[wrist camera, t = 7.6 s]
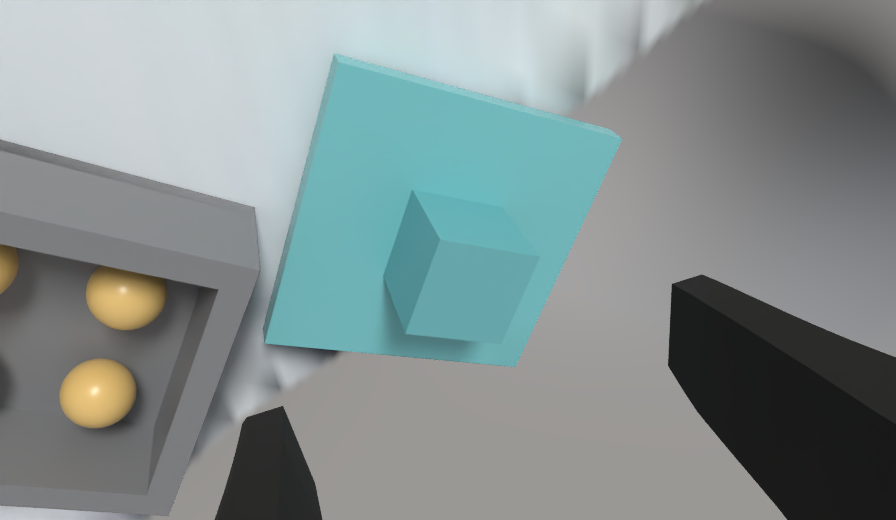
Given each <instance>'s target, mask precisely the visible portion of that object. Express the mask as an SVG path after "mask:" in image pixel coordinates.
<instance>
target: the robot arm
mask: <svg viewBox="0 0 896 520" xmlns="http://www.w3.org/2000/svg"><path fill="white" fill-rule="evenodd" d="M670 316H671V317H670V337H669V359H668V366H669V368H670V370H671V371H672V373H673V374H674V376H675V378H676V379H677V381H678V383H679V384H680V386H681V387H682V389H683V391H684V392H685V394H686V395H687V397H688V398H689V400H690V401H691V403H692V404H693V406H694V407H695V409H696V410H697V412H698V413H699V414H700V415H701V417H702V418H703V419H704V420H705V422H706V423H707V424H708V425H709V426H710V428H711V429H712V430H713V431H714V432H715V434H716V435H717V436H718V437H719V438H720V440H721V441H722V442H723V443H724V444H725V446H726V447H727V448H728V449H729V450H730V452H731V453H732V454H733V455H734V456H735V457H736V459H737V460H738V461H739V462H740V463H741V464H742V466H743V467H744V468H745V469H746V470H747V472H748V473H749V474H750V475H751V476H752V478H753V479H754V480H755V481H756V482H757V483H758V484H759V486H760V487H761V488H762V489H763V490H764V492H765V493H766V494H767V495H768V496H769V498H770V499H771V500H772V501H773V502H774V503H775V505H776V506H777V507H778V508H779V510H780V511H781V512H782V514H783V515H784V516H785V517H786V518H787V520H896V357H893V356H890V355H888V354H885V353H883V352H880V351H877V350H875V349H872V348H869V347H867V346H864V345H862V344H859V343H857V342H854V341H851V340H849V339H847V338H844V337H841V336H839V335H837V334H835V333H832V332H830V331H827V330H825V329H823V328H820V327H818V326H816V325H813V324H811V323H809V322H807V321H804V320H802V319H800V318H797V317H795V316H793V315H791V314H788V313H786V312H784V311H782V310H780V309H778V308H775V307H773V306H771V305H769V304H767V303H764V302H762V301H760V300H758V299H756V298H753V297H751V296H749V295H747V294H745V293H743V292H741V291H738V290H736V289H734V288H732V287H730V286H727V285H725V284H723V283H721V282H718V281H716V280H714V279H711V278H709V277H707V276H704V275H699V276H696V277H693V278H689V279H686V280H683V281H680V282H677V283H674V284H672V293H671V315H670ZM215 520H322V516H321V511H320V506H319V501H318V496H317V491H316V486H315V482H314V480H313V477H312V475H311V473H310V470H309V468H308V465H307V463H306V461H305V458H304V456H303V453H302V451H301V448H300V446H299V444H298V441H297V439H296V436H295V434H294V431H293V429H292V427H291V424H290V422H289V420H288V417H287V415H286V412H285V410H284V407H283V406H281V407H278V408H275V409H272V410H269V411H265V412H262V413H259V414H256V415H253V416H249V417H247V418H246V419H245V421H244V422H243V424H242V428H241V432H240V437H239V441H238V445H237V449H236V453H235V457H234V460H233V464H232V467H231V471H230V475H229V477H228V481H227V485H226V488H225V491H224V494H223V497H222V500H221V503H220V506H219V509H218V512H217V515H216V518H215Z"/></svg>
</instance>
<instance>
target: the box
mask: <svg viewBox="0 0 896 520" xmlns="http://www.w3.org/2000/svg"><path fill="white" fill-rule="evenodd" d="M259 272H260V262H259V252H258V241H257V230H256V219H255V208H254V207H250V206H247V205H243V204H239V203H235V202H232V201H228V200H224V199H220V198H217V197H213V196H209V195H205V194H202V193H198V192H194V191H190V190H187V189H183V188H179V187H175V186H172V185H168V184H164V183H160V182H157V181H153V180H149V179H145V178H142V177H138V176H134V175H130V174H127V173H123V172H119V171H115V170H112V169H108V168H104V167H100V166H97V165H93V164H89V163H85V162H82V161H78V160H74V159H70V158H67V157H63V156H59V155H55V154H52V153H48V152H44V151H40V150H37V149H33V148H29V147H25V146H22V145H18V144H14V143H10V142H7V141H3V140H0V505H1V506H17V507H32V508H48V509H64V510H80V511H96V512H112V513H128V514H144V515H160V516H169V513H170V511H171V508H172V505H173V503H174V500H175V497H176V495H177V492H178V489H179V487H180V484H181V481H182V478H183V476H184V473H185V470H186V468H187V465H188V462H189V460H190V457H191V454H192V452H193V449H194V446H195V444H196V441H197V438H198V436H199V433H200V430H201V428H202V425H203V422H204V420H205V417H206V414H207V412H208V409H209V406H210V404H211V401H212V398H213V396H214V393H215V390H216V388H217V385H218V382H219V379H220V377H221V374H222V371H223V369H224V366H225V363H226V361H227V358H228V355H229V353H230V350H231V347H232V345H233V342H234V339H235V337H236V334H237V331H238V329H239V326H240V323H241V321H242V318H243V315H244V313H245V310H246V307H247V305H248V302H249V299H250V297H251V294H252V291H253V289H254V286H255V283H256V280H257V278H258V275H259Z"/></svg>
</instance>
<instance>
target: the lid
mask: <svg viewBox="0 0 896 520" xmlns="http://www.w3.org/2000/svg"><path fill="white" fill-rule="evenodd" d="M621 140H622V138H621V137H619V136H618V135H617V134H615V133H614V132H613V131H611V130H610V129H607V128H603V127H599V126H596V125H592V124H588V123H585V122H581V121H577V120H574V119H570V118H566V117H563V116H559V115H556V114H552V113H548V112H545V111H541V110H537V109H534V108H530V107H526V106H523V105H519V104H516V103H512V102H508V101H505V100H501V99H497V98H494V97H490V96H486V95H483V94H479V93H475V92H472V91H468V90H465V89H461V88H457V87H454V86H450V85H446V84H443V83H439V82H435V81H432V80H428V79H425V78H421V77H417V76H414V75H410V74H406V73H403V72H399V71H395V70H392V69H388V68H385V67H381V66H377V65H374V64H370V63H366V62H363V61H359V60H355V59H352V58H348V57H344V56H341V55H337V54H334V56H333V60H332V64H331V68H330V72H329V75H328V79H327V83H326V87H325V91H324V95H323V99H322V103H321V106H320V110H319V114H318V118H317V122H316V126H315V130H314V133H313V137H312V141H311V145H310V149H309V153H308V157H307V161H306V164H305V168H304V172H303V176H302V180H301V184H300V188H299V191H298V195H297V199H296V203H295V207H294V211H293V215H292V218H291V222H290V226H289V230H288V234H287V238H286V242H285V246H284V249H283V253H282V257H281V261H280V265H279V269H278V273H277V276H276V280H275V284H274V288H273V292H272V296H271V300H270V304H269V307H268V311H267V315H266V319H265V323H264V327H263V332H264V342H265V344H275V345H286V346H297V347H307V348H318V349H329V350H339V351H350V352H361V353H373V354H382V355H393V356H403V357H414V358H425V359H435V360H446V361H457V362H468V363H478V364H489V365H499V366H510V367H515V366H516V364H517V362H518V360H519V358H520V356H521V354H522V352H523V349H524V347H525V345H526V343H527V341H528V339H529V337H530V335H531V333H532V330H533V328H534V326H535V324H536V322H537V320H538V317H539V315H540V313H541V311H542V309H543V307H544V305H545V303H546V300H547V298H548V296H549V294H550V292H551V290H552V288H553V286H554V283H555V281H556V279H557V277H558V275H559V273H560V270H561V268H562V266H563V264H564V262H565V260H566V258H567V256H568V254H569V251H570V249H571V247H572V245H573V243H574V240H575V239H576V236H577V234H578V232H579V230H580V228H581V226H582V224H583V221H584V219H585V217H586V215H587V213H588V211H589V209H590V206H591V204H592V202H593V200H594V198H595V196H596V194H597V192H598V189H599V187H600V185H601V183H602V181H603V179H604V176H605V175H606V172H607V170H608V168H609V166H610V164H611V162H612V159H613V157H614V155H615V153H616V151H617V149H618V147H619V144H620V142H621Z"/></svg>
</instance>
